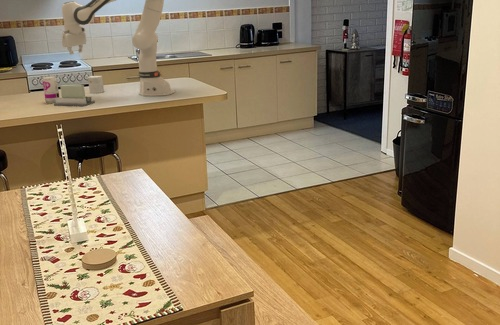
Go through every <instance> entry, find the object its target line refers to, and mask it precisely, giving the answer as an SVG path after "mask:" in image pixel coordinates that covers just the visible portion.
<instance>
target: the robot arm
mask: <svg viewBox="0 0 500 325" xmlns="http://www.w3.org/2000/svg"><path fill="white" fill-rule="evenodd" d="M116 1H117V0H91V1H90V2H88V3H87V4H85V5H82V4H79V3H77V2H76V1H74V0H73V1H72V0H70V1H67V2H64V3H63V4H62V6H61V12H62V13H61V14H62V19H63V27H64V31H63V32H62V35H61V45H62V47H63V48H66V49H67V50H68V53H69V55H71V56H72V55H74V54H75V53H74V51H73V49H72V47H77V46H78V50H77V51H78V53H80V54H81V53H83V46H84V45H86V44H87V37H86V36H87V35H86V29H85V27H83V26H84V25H88V24H89V23H92V22H93V21H94V19H95V18H96V16H95V14H96V13H97V12H98V11H100V9H102V8H103V7H104V6H106V5H108V4H111V3H113V2H116ZM164 2H165V0H145V1H144V5H143V9H142V13H141V14H142V15H141V17H140V20H139V23H138V25H137V28H136V30H135V33H134V34H133V36H132V39H131V44H132V46H133V47H134V48H135V49H137V50H139V54H138V58H137V60H138V68H139V71H138V78H139V93H138V94H139V95H140V96H142V97H150V96H151V97H153V96H154V97H155V96H160V97H161V96H169V95H173V94H174V93H175V90H173V89H172V88H171V87H172V86H171V83H169V81H167V80H166V79H164V78H163V77H162V76H161V74H162V72H161V71H159V70H158V65H157V64H158V63H157V62H158V61H157V52H158V51H157V50H158V41H159V36H158V34H157V33H156V30H157V28H158V27H159V25H160V21H161V16H162V13H163V9H164ZM81 25H82V26H81Z"/></svg>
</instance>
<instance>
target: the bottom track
mask: <svg viewBox="0 0 500 325" xmlns="http://www.w3.org/2000/svg"><path fill="white" fill-rule="evenodd" d="M55 99H56V103H53V106H56V107H85V106H88V105H91V104H93V103H94V104H95V102H96V101H95V100H93V96H90V95H89V96H86V95H85V98H62V97H59V98H55Z"/></svg>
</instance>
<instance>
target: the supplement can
mask: <svg viewBox="0 0 500 325" xmlns="http://www.w3.org/2000/svg"><path fill="white" fill-rule="evenodd" d="M42 85H43V86H42V87H43V88H42V89H43V92H44V93H43V95H44V100H45V102H46V103H47V104H55V103H56V99H55V98H60V93H59V85H58V79H57V78H56V76H44V77H42Z"/></svg>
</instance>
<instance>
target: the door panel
mask: <svg viewBox="0 0 500 325" xmlns="http://www.w3.org/2000/svg"><path fill="white" fill-rule="evenodd" d="M59 87H60V92H61V98H85V96H86V92H85V91H86V90H85V85H84V84H83V85H81V84H62V85H60V86H59Z"/></svg>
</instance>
